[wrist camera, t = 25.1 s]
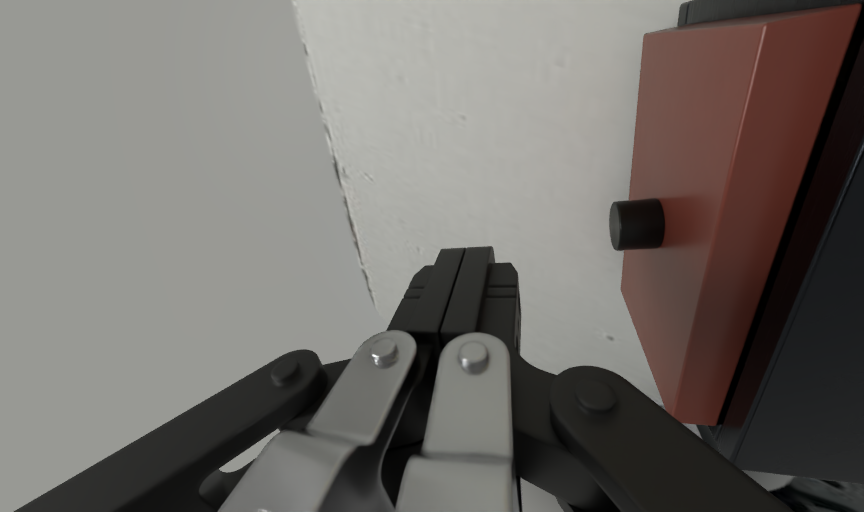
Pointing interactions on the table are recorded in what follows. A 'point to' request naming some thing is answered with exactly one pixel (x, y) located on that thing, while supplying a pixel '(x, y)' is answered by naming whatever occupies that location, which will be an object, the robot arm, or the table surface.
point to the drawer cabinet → (807, 306)
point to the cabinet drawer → (722, 185)
